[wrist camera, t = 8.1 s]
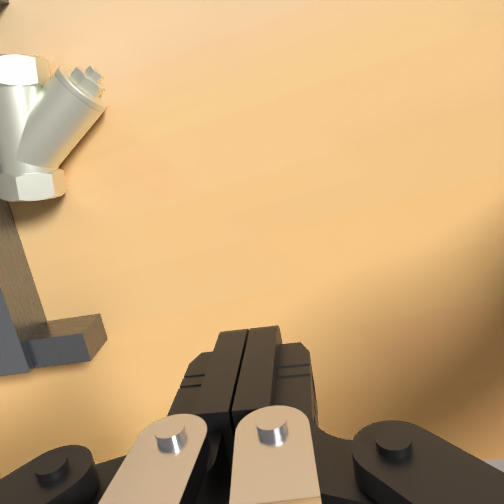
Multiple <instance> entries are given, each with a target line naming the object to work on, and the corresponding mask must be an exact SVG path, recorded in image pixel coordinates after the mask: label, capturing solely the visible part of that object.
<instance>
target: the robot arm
mask: <svg viewBox="0 0 504 504" xmlns="http://www.w3.org/2000/svg"><path fill="white" fill-rule="evenodd" d="M0 504H504V473H503V472H502V471H500V470H498V469H496V468H494V467H493V466H491V465H489V464H487V463H485V462H483V461H482V460H480V459H478V458H476V457H474V456H473V455H471V454H469V453H467V452H465V451H463V450H462V449H460V448H458V447H456V446H454V445H452V444H451V443H449V442H447V441H445V440H443V439H441V438H440V437H438V436H436V435H434V434H432V433H431V432H429V431H427V430H425V429H423V428H421V427H419V426H417V425H414V424H411V423H408V422H403V421H381V422H377V423H373V424H371V425H368V426H366V427H364V428H363V429H362V430H360V431H359V432H358V433H357V434H356V435H355V437H354V439H353V441H352V440H346V439H341V438H337V437H334V436H331V435H329V434H327V433H325V432H324V431H322V430H321V429H320V428H319V427H318V411H317V401H316V394H315V387H314V380H313V373H312V367H311V360H310V353H309V351H308V350H307V349H306V348H305V347H304V346H303V344H302V343H301V342H299V343H289V344H282V339H281V333H280V329H279V326H269V327H260V328H251V329H250V330H249V329H243V330H234V331H225V332H220V334H219V336H218V339H217V342H216V345H215V348H214V351H213V352H204V353H201V354H200V355H199V356H198V357H197V358H195V359H194V360H193V361H192V362H191V363H190V364H189V366H188V368H187V371H186V373H185V375H184V379H183V380H182V382H181V385H180V389H178V392H177V394H176V396H175V399H174V401H173V404H172V406H171V408H170V411H169V413H168V415H167V417H164V418H162V419H159V420H157V421H155V422H153V423H152V424H150V425H149V426H148V427H146V428H145V429H144V430H143V431H142V432H141V433H140V435H139V436H138V437H137V439H136V441H135V443H134V444H133V446H132V448H131V449H130V451H129V453H128V454H127V455H125V456H122V457H119V458H116V459H113V460H109V461H106V462H103V463H99V464H96V465H95V463H94V460H93V457H92V454H91V452H90V450H89V449H87V448H86V447H83V446H79V445H69V446H63V447H59V448H56V449H53V450H50V451H48V452H46V453H44V454H42V455H40V456H38V457H37V458H35V459H33V460H32V461H30V462H28V463H27V464H25V465H23V466H22V467H20V468H18V469H17V470H15V471H14V472H12V473H10V474H9V475H7V476H5V477H4V478H2V479H0Z"/></svg>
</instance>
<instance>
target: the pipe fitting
mask: <svg viewBox="0 0 504 504" xmlns="http://www.w3.org/2000/svg"><path fill="white" fill-rule="evenodd" d="M102 79H103V75H102V74H101V73H100V72H99V71H98V70H97V69H96V68H94V67H93V66H89V67H88V68H87V70H85V69H83V68H81V67H76V68H75V70H74V71H73V72H71V71H69V70H67V69H65V68H63V67H58V69H57V70H56V71H55V73H54V74H53V75H52V76H51V74H50V67H49V61H48V60H47V59H45V58H43V57H40V56H32V55H14V54H0V199H3V200H5V201H12V202H24V201H37V200H45V199H51V198H56V197H59V196H62V195H63V194H64V193H65V192H66V191H67V189H66V182H65V175H64V170H62V169H60V168H59V167H58V166H59V165H60V164H61V163H62V162H63V160H64V159H65V158H66V157H67V156H68V154H69V153H70V152H71V151H72V149H73V148H74V147H75V146H76V145H77V143H78V142H79V141H80V140H81V139H82V137H83V136H84V135H85V134H86V133H87V131H88V130H89V129H90V128H91V126H92V125H93V124H94V123H95V122H96V120H97V119H98V118H99V117H100V116H101V114H102V113H103V112H104V111H105V110H106V108H107V104H106V103H105V101H104V100H103V99H102V97H101V96H100V95H101V94H102V92H103V91H104V90H105V89H104V87H103V85H102V84H101V83H100V81H101V80H102Z"/></svg>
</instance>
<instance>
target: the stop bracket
mask: <svg viewBox="0 0 504 504" xmlns="http://www.w3.org/2000/svg"><path fill="white" fill-rule="evenodd" d="M4 4H9V2H8V0H0V5H4ZM106 341H107V336H106V333H105V329H104V326H103V323H102V319H101V316H100V314H95V315H88V316H81V317H74V318H67V319H60V320H53V321H47V320H46V317H45V314H44V311H43V308H42V305H41V302H40V299H39V296H38V293H37V290H36V287H35V284H34V281H33V278H32V275H31V272H30V269H29V266H28V262H27V259H26V256H25V253H24V250H23V247H22V244H21V241H20V238H19V235H18V232H17V229H16V226H15V223H14V220H13V217H12V214H11V211H10V208H9V205H8V201H5V200H3V199H0V376H5V375H13V374H20V373H28V372H31V371H32V370H33V369H34V368H39V367H47V366H54V365H62V364H69V363H77V362H84V361H91V360H92V359H93V357H94V356H95V355H96V353H97V352H98V351H99V350H100V348H101V347H102V346H103V344H104V343H105V342H106Z"/></svg>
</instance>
